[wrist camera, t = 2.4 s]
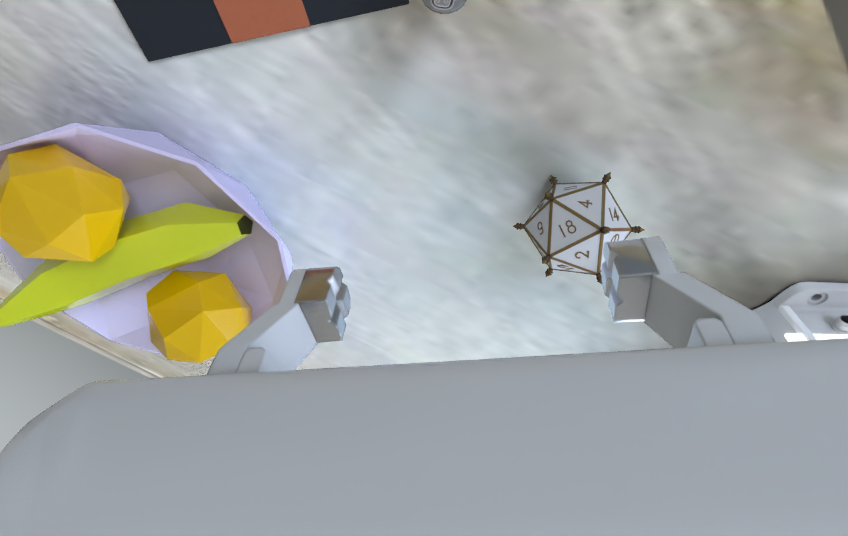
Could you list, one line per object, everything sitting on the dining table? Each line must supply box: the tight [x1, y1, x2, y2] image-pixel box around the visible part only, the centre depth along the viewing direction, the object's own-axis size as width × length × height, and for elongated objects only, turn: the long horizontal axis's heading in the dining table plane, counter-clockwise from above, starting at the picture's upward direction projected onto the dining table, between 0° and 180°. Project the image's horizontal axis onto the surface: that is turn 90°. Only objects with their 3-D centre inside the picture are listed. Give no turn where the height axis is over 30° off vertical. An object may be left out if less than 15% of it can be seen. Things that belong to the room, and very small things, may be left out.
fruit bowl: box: [0, 123, 293, 364], centre depth 43 cm, size 28×27×11 cm
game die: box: [513, 172, 644, 284], centre depth 39 cm, size 9×8×10 cm
